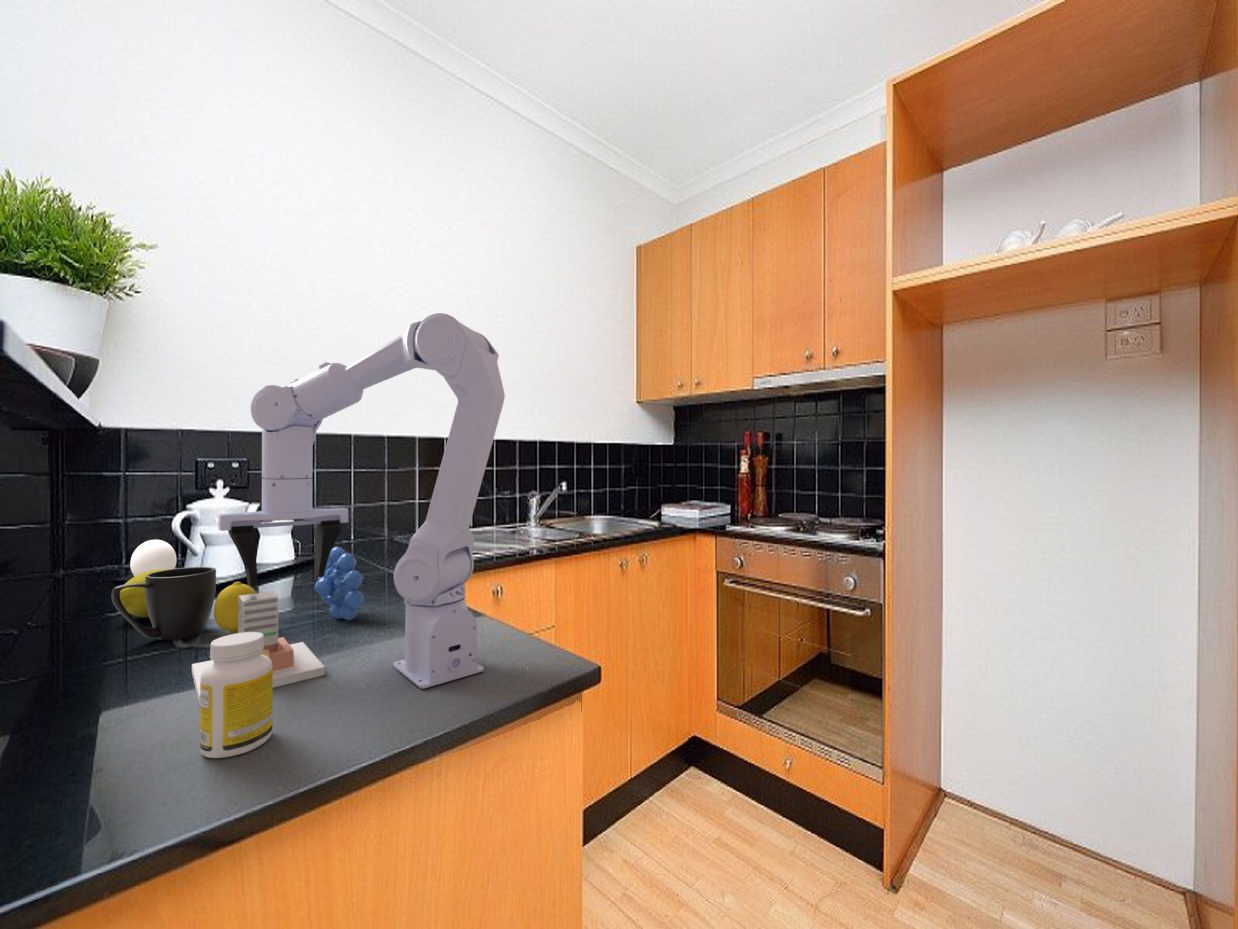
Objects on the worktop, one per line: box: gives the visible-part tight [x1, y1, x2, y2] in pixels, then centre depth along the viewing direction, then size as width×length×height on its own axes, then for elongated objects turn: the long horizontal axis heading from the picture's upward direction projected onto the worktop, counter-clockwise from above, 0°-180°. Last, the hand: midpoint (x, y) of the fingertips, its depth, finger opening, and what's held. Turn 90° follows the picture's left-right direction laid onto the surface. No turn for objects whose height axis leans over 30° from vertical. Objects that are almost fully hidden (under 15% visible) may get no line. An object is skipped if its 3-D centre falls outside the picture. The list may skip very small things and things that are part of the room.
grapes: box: [313, 546, 365, 621], centre depth 86 cm, size 12×7×12 cm, turn 55°
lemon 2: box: [213, 581, 257, 634], centre depth 78 cm, size 6×6×8 cm
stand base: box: [191, 636, 326, 705], centre depth 64 cm, size 12×12×4 cm
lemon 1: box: [120, 569, 169, 619], centre depth 87 cm, size 11×8×8 cm
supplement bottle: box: [199, 632, 274, 759], centre depth 48 cm, size 5×5×10 cm
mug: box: [110, 566, 217, 641], centre depth 77 cm, size 8×12×10 cm
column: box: [238, 590, 279, 646], centre depth 64 cm, size 4×4×6 cm
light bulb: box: [129, 539, 178, 577], centre depth 101 cm, size 7×7×11 cm
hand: (287, 580), depth 69 cm, fingers open, 7 cm apart
